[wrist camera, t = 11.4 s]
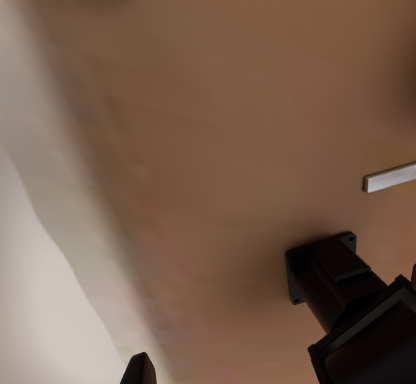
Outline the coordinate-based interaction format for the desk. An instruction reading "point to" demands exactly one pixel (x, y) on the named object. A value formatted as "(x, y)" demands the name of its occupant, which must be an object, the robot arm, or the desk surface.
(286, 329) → the desk surface
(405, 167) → the fork
